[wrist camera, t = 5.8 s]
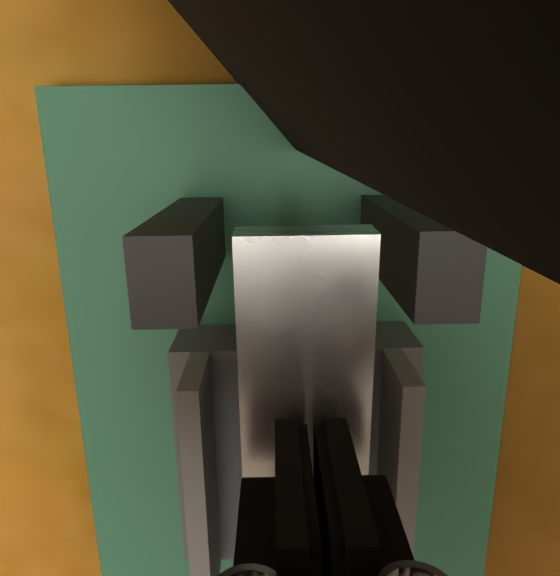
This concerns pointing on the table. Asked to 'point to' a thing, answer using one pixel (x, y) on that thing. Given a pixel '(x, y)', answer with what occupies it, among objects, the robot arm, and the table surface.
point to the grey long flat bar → (304, 333)
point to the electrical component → (414, 103)
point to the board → (222, 325)
